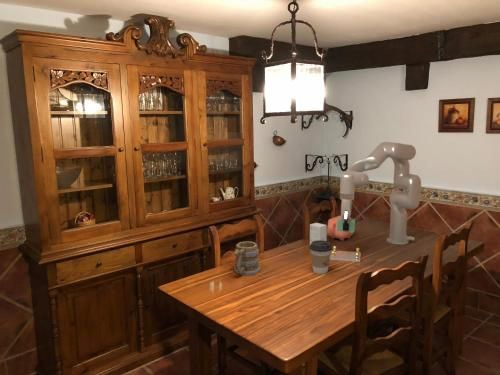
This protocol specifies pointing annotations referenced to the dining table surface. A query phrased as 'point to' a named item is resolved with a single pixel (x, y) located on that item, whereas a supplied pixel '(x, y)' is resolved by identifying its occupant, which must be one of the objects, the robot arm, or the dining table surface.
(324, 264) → the coffee cup
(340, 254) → the chassis plate
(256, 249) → the tankard
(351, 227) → the block
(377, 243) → the dining table surface
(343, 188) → the robot arm
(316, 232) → the small box
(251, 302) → the dining table surface
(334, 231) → the teapot
